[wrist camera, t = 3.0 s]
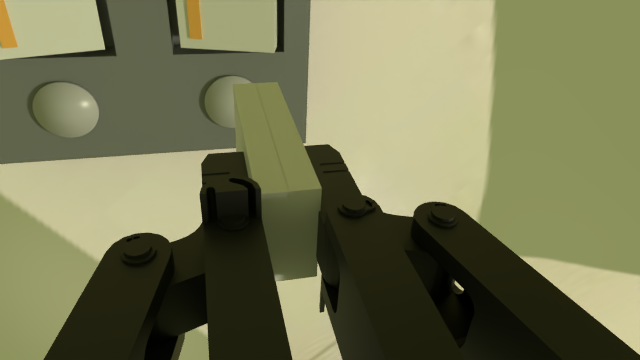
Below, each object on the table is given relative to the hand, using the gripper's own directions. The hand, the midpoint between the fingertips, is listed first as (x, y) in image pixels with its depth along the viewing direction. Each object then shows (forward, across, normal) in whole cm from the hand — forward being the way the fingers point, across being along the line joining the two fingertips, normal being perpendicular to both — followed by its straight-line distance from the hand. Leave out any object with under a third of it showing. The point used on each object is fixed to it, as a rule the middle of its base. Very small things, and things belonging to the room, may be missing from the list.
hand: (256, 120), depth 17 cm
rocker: (+14, 0, 0) cm, 14 cm away
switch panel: (+18, +5, +3) cm, 19 cm away
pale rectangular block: (+14, +10, 0) cm, 17 cm away
